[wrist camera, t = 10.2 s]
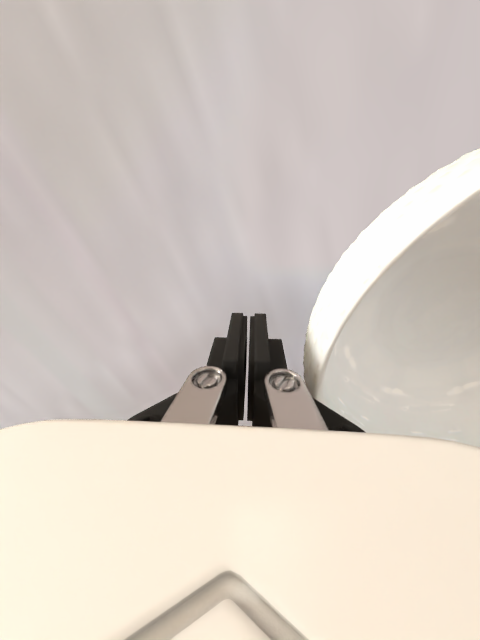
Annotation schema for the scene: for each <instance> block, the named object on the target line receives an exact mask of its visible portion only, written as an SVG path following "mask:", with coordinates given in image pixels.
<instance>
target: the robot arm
mask: <svg viewBox="0 0 480 640" xmlns="http://www.w3.org/2000/svg"><path fill="white" fill-rule="evenodd" d="M246 352H247V316H243V313H232V316H231V321H230V325H229V330H228V335H227V338H219V337H215V339H214V342H213V346H212V349H211V352H210V356H209V359H208V362H207V366H204V367H200V368H198V369H196V370H194V371H192V372H191V374H190V375H189V376H188V378H187V379H186V381H185V382H184V384H183V386H182V387H181V389H180V391H179V392H178V393H176V394H174V395H172V396H171V397H169V398H167V399H165V400H163V401H161V402H159V403H157V404H155V405H154V406H152V407H150V408H148V409H146V410H144V411H142V412H140V413H139V414H137V415H135V416H133V417H132V418H130V419H129V420H127V421H125V420H102V419H57V420H44V421H37V422H30V423H24V424H20V425H15V426H11V427H7V428H3V429H0V640H480V447H476V446H472V445H468V444H464V443H460V442H455V441H450V440H444V439H437V438H430V437H419V436H407V435H396V434H381V433H366V432H365V431H364V430H362V429H361V428H360V427H358V426H357V425H355V424H354V423H352V422H350V421H349V420H347V419H346V418H344V417H343V416H341V415H339V414H338V413H336V412H335V411H333V410H332V409H330V408H328V407H327V406H325V405H324V404H322V403H321V402H319V401H317V400H316V399H314V398H313V397H312V396H311V394H310V392H309V390H308V388H307V386H306V384H305V382H304V380H303V378H302V377H301V376H300V375H299V374H297V373H296V372H294V371H292V370H288V369H287V365H286V360H285V355H284V350H283V345H282V340H281V339H268V332H267V322H266V314H255V316H250V341H249V371H248V414H247V421H252V426H238V420H243V416H244V398H245V379H246Z"/></svg>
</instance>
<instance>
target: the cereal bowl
mask: <svg viewBox="0 0 480 640" xmlns="http://www.w3.org/2000/svg"><path fill="white" fill-rule="evenodd" d="M303 365H304V379H305V382H306V386H307V388H308V390H309V392H310V394H311V396H312V397H313V398H314V399H316V400H317V401H319V402H321V403H322V404H324V405H325V406H327V407H328V408H330V409H332V410H333V411H335V412H336V413H338V414H339V415H341V416H343V417H344V418H346V419H347V420H349V421H350V422H352V423H354V424H355V425H357V426H358V427H360V428H361V429H362V430H364V431H365V432H366V433H381V434H396V435H407V436H419V437H430V438H437V439H444V440H450V441H455V442H460V443H464V444H468V445H472V446H476V447H480V148H479V149H477V150H474V151H472V152H469V153H467V154H464V155H463V156H462V157H460V158H459V159H457V160H456V161H454V162H453V163H451V164H449V165H447V166H445V167H443V168H440V169H439V170H437V171H436V172H435V173H433V174H431V175H430V176H429V177H428V178H427V179H426V180H424V181H423V182H421V183H420V184H418V185H416V186H414V187H412V188H410V190H409V191H408V192H407V193H406V194H405V195H403V196H402V197H400V198H399V199H398V200H397V201H395V202H394V203H393V204H392V205H391V206H390V207H389V208H387V209H386V210H384V211H383V212H382V213H381V214H380V215H379V216H378V218H377V219H375V220H374V221H373V222H372V223H371V224H370V225H369V226H368V227H367V228H366V229H365V230H364V231H362V232H361V233H360V235H359V236H358V238H357V239H356V241H355V242H353V243H352V244H351V245H350V247H349V249H348V250H347V251H345V252H344V253H343V255H342V257H341V259H340V261H339V262H338V263H337V264H336V265H335V267H334V269H333V271H332V272H331V273H330V274H329V275H328V278H327V281H326V283H325V284H324V286H323V287H322V289H321V293H320V294H319V295H318V298H317V302H316V304H315V306H314V308H313V310H312V315H311V317H310V322H309V326H308V328H307V333H306V342H305V345H304V361H303Z"/></svg>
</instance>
